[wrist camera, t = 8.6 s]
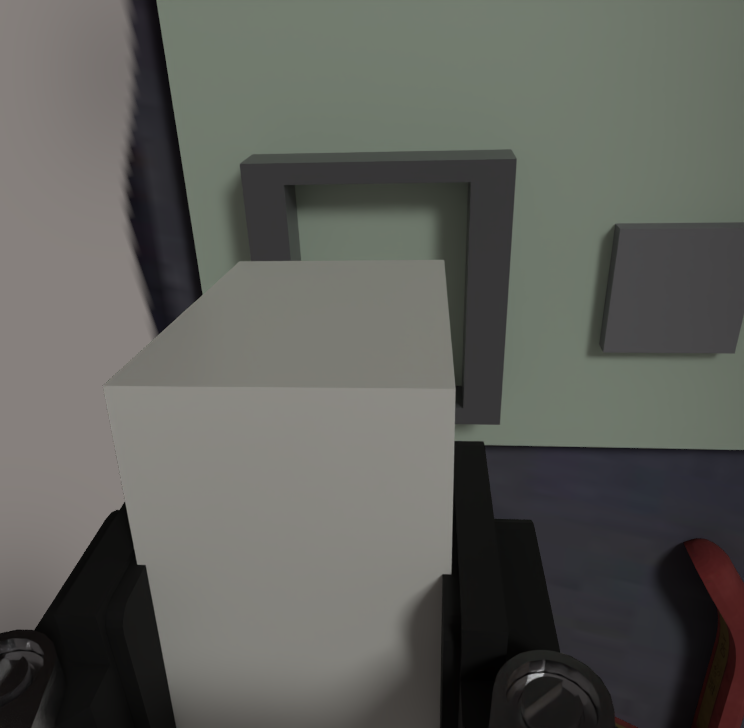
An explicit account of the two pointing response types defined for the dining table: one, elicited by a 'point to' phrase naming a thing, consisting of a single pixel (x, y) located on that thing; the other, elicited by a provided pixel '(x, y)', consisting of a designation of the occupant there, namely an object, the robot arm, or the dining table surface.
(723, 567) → the pliers
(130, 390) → the plug
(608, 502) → the dining table surface
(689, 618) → the dining table surface
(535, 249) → the board
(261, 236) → the frame
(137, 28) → the dining table surface
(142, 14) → the dining table surface
